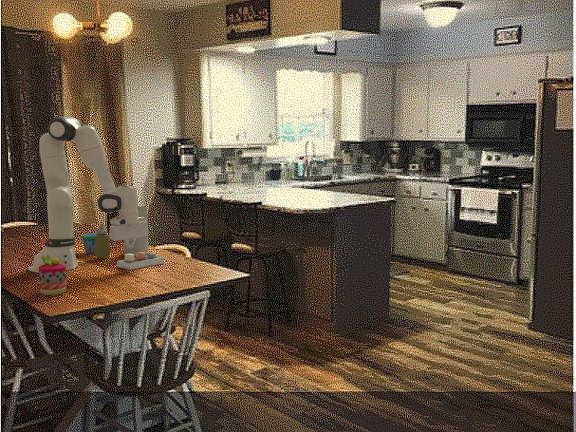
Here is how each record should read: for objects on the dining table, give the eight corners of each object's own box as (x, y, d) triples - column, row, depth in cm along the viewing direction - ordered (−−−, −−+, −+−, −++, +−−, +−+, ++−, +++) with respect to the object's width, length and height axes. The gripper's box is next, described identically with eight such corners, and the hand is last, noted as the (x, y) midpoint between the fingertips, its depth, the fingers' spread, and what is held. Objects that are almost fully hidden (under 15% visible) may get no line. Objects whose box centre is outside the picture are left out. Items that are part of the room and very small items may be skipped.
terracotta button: (139, 259, 305) (139, 253, 304) (134, 258, 308) (133, 252, 307) (147, 258, 308) (146, 252, 308) (141, 257, 311) (141, 251, 311)
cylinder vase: (134, 257, 328) (133, 209, 324) (119, 254, 335) (117, 207, 332) (153, 254, 338) (152, 207, 334) (137, 251, 345) (136, 205, 342)
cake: (70, 289, 260) (69, 253, 258) (62, 295, 250) (60, 258, 248) (44, 289, 260) (43, 253, 258) (35, 295, 249) (33, 258, 247)
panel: (129, 270, 297) (129, 263, 297) (117, 267, 304) (117, 260, 303) (163, 263, 313) (163, 257, 312) (150, 260, 319) (150, 255, 319)
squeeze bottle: (106, 260, 320) (105, 224, 318) (91, 259, 322) (90, 224, 320) (113, 257, 328) (112, 222, 326) (99, 256, 330) (98, 222, 328)
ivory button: (128, 261, 300) (128, 255, 299) (122, 260, 303) (122, 254, 302) (136, 260, 303) (135, 254, 303) (130, 259, 306) (130, 253, 306)
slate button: (150, 260, 310) (150, 254, 310) (145, 259, 313) (144, 253, 312) (157, 259, 313) (157, 253, 313) (152, 258, 316) (152, 252, 316)
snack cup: (77, 252, 340) (76, 233, 339) (96, 250, 347) (95, 231, 346) (88, 256, 328) (88, 237, 327) (108, 254, 335) (107, 235, 334)
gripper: (142, 216, 310) (143, 243, 312) (106, 220, 295) (108, 250, 296) (150, 217, 306) (151, 245, 308) (114, 222, 291) (116, 251, 292)
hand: (130, 247), depth 302 cm, fingers closed
